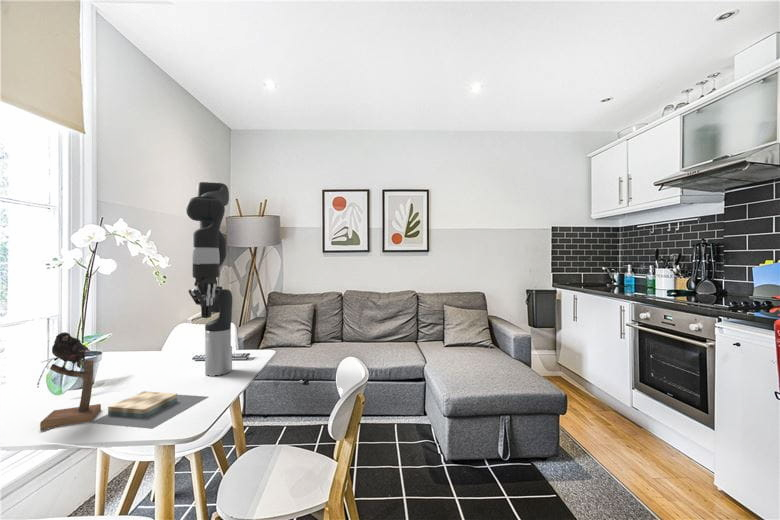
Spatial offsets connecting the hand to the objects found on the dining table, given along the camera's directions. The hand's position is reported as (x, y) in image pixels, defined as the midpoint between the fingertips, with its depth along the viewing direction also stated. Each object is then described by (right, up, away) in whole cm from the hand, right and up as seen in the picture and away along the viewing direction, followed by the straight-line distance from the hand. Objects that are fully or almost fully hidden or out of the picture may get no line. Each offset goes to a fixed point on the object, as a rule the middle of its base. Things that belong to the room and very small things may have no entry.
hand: (206, 317), depth 110 cm
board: (-11, -25, -5) cm, 28 cm away
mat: (-13, -27, -5) cm, 30 cm away
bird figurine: (-33, -27, -9) cm, 44 cm away
